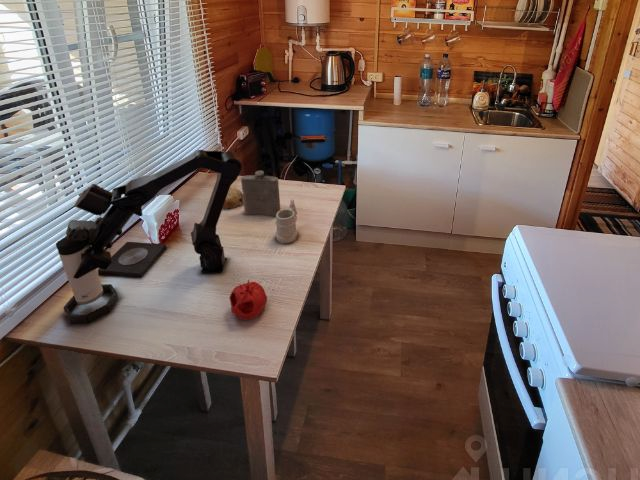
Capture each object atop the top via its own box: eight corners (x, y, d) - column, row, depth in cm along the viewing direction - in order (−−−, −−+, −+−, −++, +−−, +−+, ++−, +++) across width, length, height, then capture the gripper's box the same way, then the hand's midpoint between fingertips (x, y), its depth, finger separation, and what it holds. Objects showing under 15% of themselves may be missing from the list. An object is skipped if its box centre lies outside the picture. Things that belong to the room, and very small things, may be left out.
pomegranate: (249, 291, 112) (246, 265, 109) (275, 304, 108) (272, 278, 104) (222, 314, 104) (218, 287, 101) (249, 330, 100) (245, 303, 96)
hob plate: (166, 247, 130) (165, 243, 130) (141, 277, 117) (140, 272, 117) (128, 245, 131) (126, 241, 131) (98, 274, 118) (97, 269, 118)
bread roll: (235, 217, 154) (241, 201, 151) (210, 207, 152) (217, 191, 150) (242, 203, 163) (248, 189, 160) (219, 194, 161) (225, 179, 159)
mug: (272, 241, 134) (269, 212, 129) (286, 222, 144) (284, 195, 140) (292, 245, 132) (290, 216, 127) (305, 226, 142) (304, 198, 138)
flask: (247, 209, 153) (242, 169, 146) (282, 211, 152) (279, 170, 145) (243, 214, 149) (239, 173, 143) (279, 216, 148) (276, 175, 142)
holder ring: (125, 290, 112) (123, 283, 111) (102, 323, 101) (100, 316, 100) (84, 291, 111) (82, 285, 111) (57, 324, 101) (54, 317, 100)
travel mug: (91, 307, 102) (70, 246, 94) (70, 303, 103) (48, 243, 95) (109, 289, 107) (91, 231, 100) (90, 286, 109) (70, 228, 101)
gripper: (81, 195, 105) (43, 242, 103) (83, 228, 91) (39, 284, 89) (121, 210, 112) (85, 255, 110) (128, 243, 98) (88, 295, 96)
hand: (75, 270), depth 101 cm, fingers closed on travel mug, 6 cm apart
